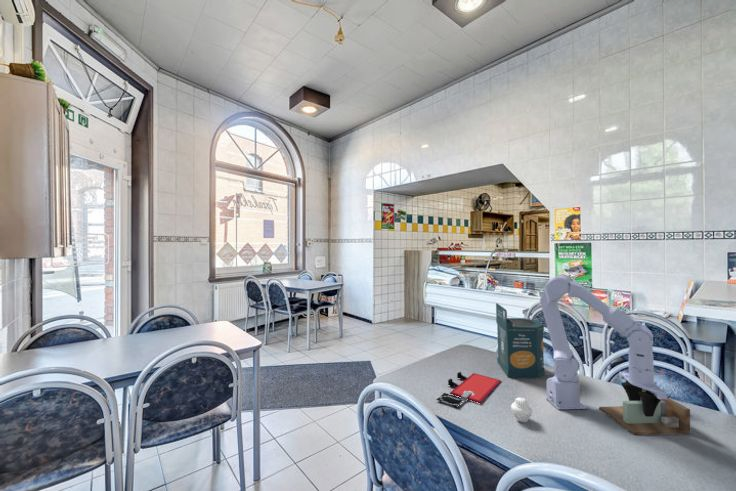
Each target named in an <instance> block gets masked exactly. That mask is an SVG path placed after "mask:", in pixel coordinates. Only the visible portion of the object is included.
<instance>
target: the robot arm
mask: <svg viewBox="0 0 736 491" xmlns="http://www.w3.org/2000/svg"><path fill="white" fill-rule="evenodd" d="M565 294H567V297H569V298H576V299H579V300H581V301H582V302H584V303H585V304H586V305H588V306H589V307H590V308H592V309H593V310H594V311H596V312H597V313H599V314H600V315H602V320H603V322H604V323H605V324H607V325H608V326H609V327H611V328H612V329H613V330H614V331H615V332H618V333H619V334H620V335H621V336H622V337H625V338H626V340H627V343H628V346H629V349H628V372H627V371H619V373H618V375H619V376H618V377H619V379H621V380H625V381H624V382H623V381H622V382H621V384H620V385H621V386H622V388H623V389H624V391H625V393H626V396H627V399H628V401H640V398H641V400H642V404H643V412H644V415H645V416H647V417H652V416H653V415H654V412H655V409H656V407H657V405H658V404H659V402H660V401H661V400H662V399H667V398H668V393H667V392H666V391H664V390H663V389H662V388H661V387H660V386H658V383H657V381H655V375H654V374H655V373H654V372H655V370H654V369H655V368H654V353H653V350H654V348H653V345H654V335H653V332H652V330H650V329H649V327H648V326H645V325H643V324H642V323H641V322H640V321H636V320H635V319H633V318H632V317H630V316H629V315H628V314H627V311H626V310H624V309H620V308H618V307H610V306H609V305H607V304H606V303H605V302H603V301H602V300H601V299H600V298H599V297H597V296H596V295H595V294H593V292H591V291H590V290H589V289H587V287H585V286H584V285H583V284H581V283H580V282H579V281H577V280H575V279H573V278H572V277H571V276H569V275H567V274H559V275H557V276H554V277H552V278H550V279H549V280H548V281H547V282H546V283H545V284H544V288H543V292H542V293H541V297H540V300H539V301H540V306H541V309H542V312H543V313H542V314H543V317H544V320H545V323H546V324H545V325H546V327H547V331H548V334H549V339H550V342H551V347H552V349H553V362H554V363H553V364H554V365H553V373H554V376H552V377H549V378H547V379H546V381H545V382H546V383H545V384H546V396H545V399H546V400H547V401H548V402H549V403H551V405H552V406H554V407H555V408H556V409H557V410H586V409H587V406H585V405H584V404H583V403H581V391H580V390H581V388H580V377H579V375H578V374H577V372H578V371H579V370H580V367H581V366H580V361H579V360H578V359H577V358H576V357H575V354H574V351H573V350H572V349H571V347H570V343H569V340H568V338H567V333H566V330H565V326H564V324H563V323H564V322H563V320H562V316H561V312H560V309H559V305H558V303H559V301H561V299H562V298H563V297H564V295H565ZM642 389H644V390H646V392H642Z"/></svg>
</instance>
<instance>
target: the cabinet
mask: <svg viewBox="0 0 736 491" xmlns="http://www.w3.org/2000/svg"><path fill="white" fill-rule="evenodd" d="M662 401H665V402H666V417H661V423H632V424H627V423H626V422H625V421H623V405H622V406H619V405H618V406H616V405H615V406H598V409H599V411H601V412H602V413H603V414H605V415H607V416H608V417H609V418H610V419H612V420H613V421H615V422H616V424H617V423H618V424H619V425H620V426H622V427H623V428H624V429H626V430H627V431H628V432H629V433H631V434H633V435H634V436H638V435H639V436H642V435H644V436H645V435H648V436H649V435H684V434H685V435H686V434H690V435H691V409H690V408H688V407H686V406H684V405H682V404H680V403H679V402H676V401H675V400H673V399H671V398H669V397H667V399H662Z"/></svg>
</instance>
